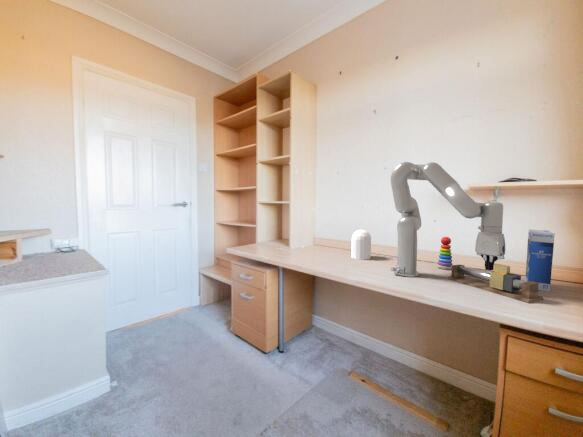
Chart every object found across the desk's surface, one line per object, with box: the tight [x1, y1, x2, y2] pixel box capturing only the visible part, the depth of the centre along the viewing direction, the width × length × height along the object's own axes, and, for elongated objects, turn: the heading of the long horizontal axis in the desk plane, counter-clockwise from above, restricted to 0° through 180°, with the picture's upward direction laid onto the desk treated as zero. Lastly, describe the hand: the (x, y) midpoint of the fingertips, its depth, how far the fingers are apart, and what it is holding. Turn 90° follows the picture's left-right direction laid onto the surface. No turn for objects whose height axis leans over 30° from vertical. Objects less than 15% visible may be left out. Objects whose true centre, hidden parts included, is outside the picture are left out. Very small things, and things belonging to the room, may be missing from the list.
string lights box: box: [524, 229, 556, 293], centre depth 114 cm, size 13×8×26 cm, turn 141°
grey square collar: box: [503, 273, 522, 292], centre depth 105 cm, size 3×6×6 cm, turn 112°
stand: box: [446, 264, 544, 304], centre depth 113 cm, size 33×10×7 cm, turn 22°
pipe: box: [458, 266, 526, 291], centre depth 113 cm, size 30×4×4 cm, turn 22°
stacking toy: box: [436, 236, 453, 271], centre depth 146 cm, size 8×8×19 cm
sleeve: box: [489, 263, 514, 290], centre depth 109 cm, size 5×7×10 cm
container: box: [350, 229, 372, 261], centre depth 174 cm, size 14×13×20 cm
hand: (489, 269), depth 113 cm, fingers closed
